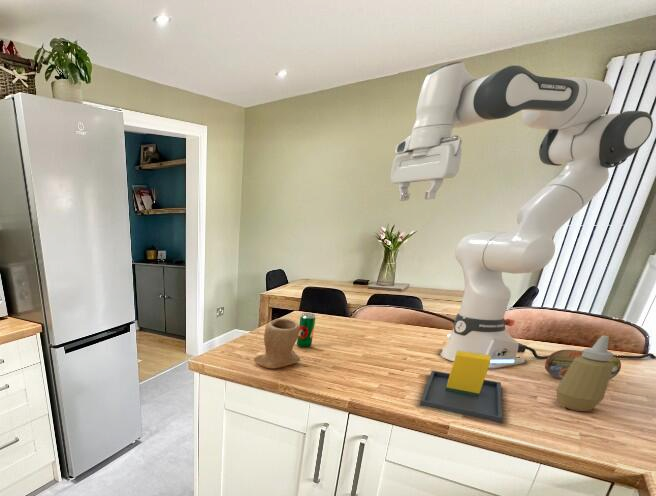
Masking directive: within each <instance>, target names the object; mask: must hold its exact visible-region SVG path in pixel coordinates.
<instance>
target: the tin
mask: <svg viewBox="0 0 656 496" xmlns="http://www.w3.org/2000/svg"><path fill="white" fill-rule="evenodd" d="M583 351H584V350H577V349H559V350H557V351H554V352H552V353H550V354H549V355H548V356H549V357H548V358H547V359H545V361H544V369H545V371H546V372H547V373H548V374H549V375H550V376H552V377H553V378H555V379H558V380H562V379H563V377H564V375H565V374H566V372H567V370H568V369H569V367H570V365H571V364H572V362H573V360H574V359H575V358H577V357H581V355H582V353H583ZM614 355H615V354H613V355H612V357H611V359H610V360H609V361H610V362H611V363H612V364H613V365H614V366H613V370H612V373H611V376H610V379H609V381H610V380H612V379H613V378H615V377H616V376H617V375H618V374H619V373H620V371H621V369H622V362H621V360H620V358H617V357H616V356H614Z"/></svg>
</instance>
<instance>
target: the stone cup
mask: <svg viewBox="0 0 656 496" xmlns="http://www.w3.org/2000/svg"><path fill="white" fill-rule="evenodd" d="M263 334H264V335H263V343H264V348H265V353H264V354H263V353H262V354H260V355H257V356H255V357H253V362H254V363H256V364H257V365H258V366H260V367H264V368H266V369H279V368H282V367H287V366H289V365H293V364H296V363H299V362H301V358H300V357H299V355H298V354H297V353H296V352H295V350H293V348H294V346H295V344H296V343H297V338H298V335H299V324H298V322H296V321H295V320H292V319H290V318H284V317H283V318H282V317H279V318H275V319H273V320H271V321H269V322H268V323H267V324H266V326H265V329H264V333H263Z"/></svg>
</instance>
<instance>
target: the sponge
mask: <svg viewBox="0 0 656 496" xmlns="http://www.w3.org/2000/svg"><path fill="white" fill-rule="evenodd" d="M490 361H491V356H490V355H484V354H477V353H470V352H463V351H457V353H456V356H455V359H454V361H453V363H452V366H451V370H450V373H449V374H450V376H449V379H448V383H447V386H446V390H448V391H453V392H458V393H463V394H468V395H473V396H479V393H480V390H481V388H482V385H483V382H484V380H486V379H485V378H486V376H487V372H488V370H489V368H488V367H489V364H490Z"/></svg>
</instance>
